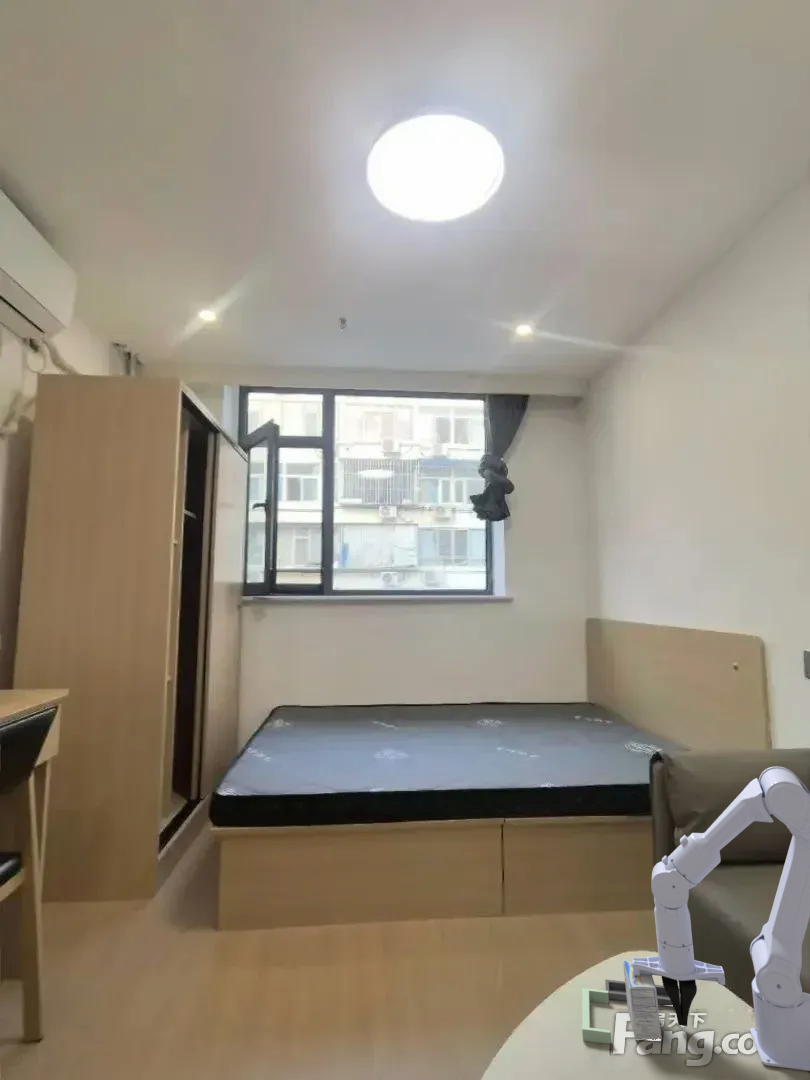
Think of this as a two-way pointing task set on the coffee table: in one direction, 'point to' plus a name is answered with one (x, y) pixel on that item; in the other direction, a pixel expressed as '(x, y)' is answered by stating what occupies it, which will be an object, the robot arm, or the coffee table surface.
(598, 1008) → the coffee table surface
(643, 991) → the medicine box
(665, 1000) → the grey flat rectangular tray
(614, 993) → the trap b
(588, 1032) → the mint green u-bracket
